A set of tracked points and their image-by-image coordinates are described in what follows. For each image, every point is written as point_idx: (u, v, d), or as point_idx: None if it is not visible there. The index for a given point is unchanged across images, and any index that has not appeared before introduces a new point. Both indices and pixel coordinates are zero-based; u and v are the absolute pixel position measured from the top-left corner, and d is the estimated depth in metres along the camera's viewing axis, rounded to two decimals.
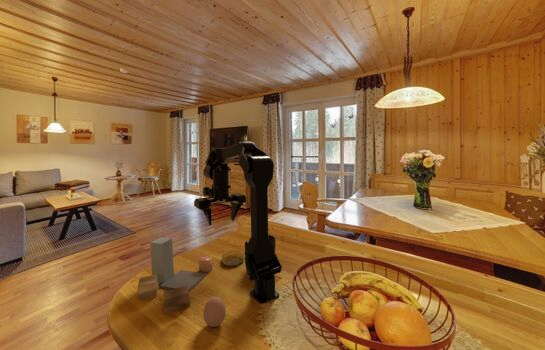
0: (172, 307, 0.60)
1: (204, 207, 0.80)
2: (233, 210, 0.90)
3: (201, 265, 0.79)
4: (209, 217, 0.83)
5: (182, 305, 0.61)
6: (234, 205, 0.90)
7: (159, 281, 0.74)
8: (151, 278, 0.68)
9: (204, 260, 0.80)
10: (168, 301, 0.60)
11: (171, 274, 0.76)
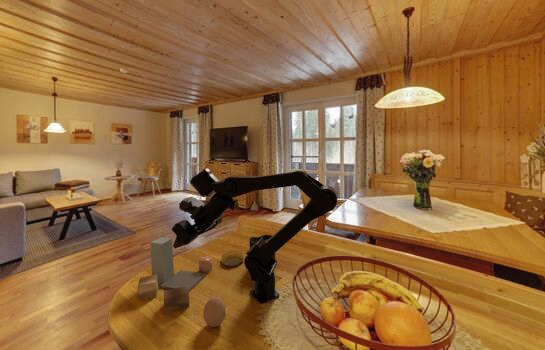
0: (172, 307, 0.60)
1: (190, 242, 0.63)
2: (202, 230, 0.76)
3: (201, 265, 0.79)
4: None
5: (182, 305, 0.61)
6: None
7: (159, 281, 0.74)
8: (151, 278, 0.68)
9: (204, 260, 0.80)
10: (168, 301, 0.60)
11: (171, 274, 0.76)
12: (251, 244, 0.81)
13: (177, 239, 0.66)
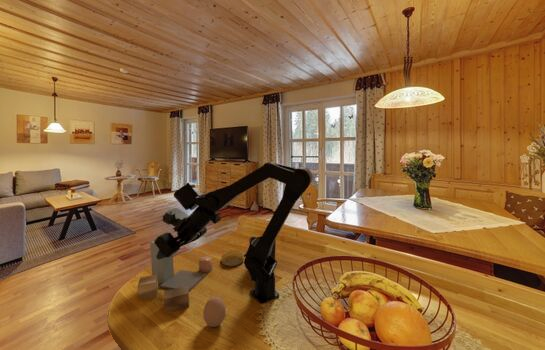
0: (172, 307, 0.60)
1: (172, 254, 0.65)
2: None
3: (201, 265, 0.79)
4: None
5: (182, 305, 0.61)
6: None
7: (159, 281, 0.74)
8: (151, 278, 0.68)
9: (204, 260, 0.80)
10: (167, 301, 0.60)
11: (171, 274, 0.76)
12: None
13: (160, 251, 0.68)
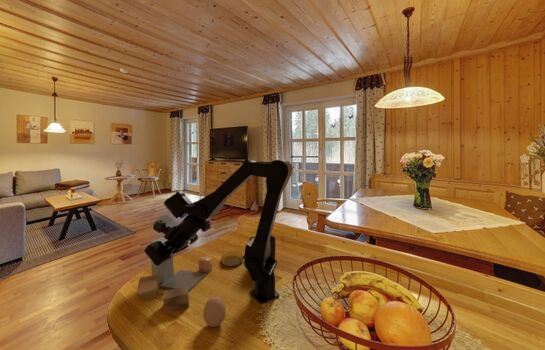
0: (171, 307, 0.60)
1: (162, 262, 0.66)
2: (173, 250, 0.77)
3: (201, 265, 0.79)
4: None
5: (182, 305, 0.61)
6: None
7: (159, 281, 0.74)
8: (151, 278, 0.68)
9: (204, 260, 0.80)
10: (167, 301, 0.60)
11: (171, 274, 0.76)
12: None
13: None
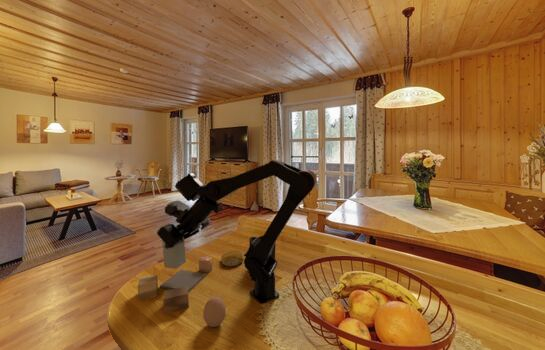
0: (171, 307, 0.60)
1: (175, 245, 0.65)
2: (185, 235, 0.76)
3: (201, 265, 0.79)
4: None
5: (182, 305, 0.61)
6: None
7: (171, 266, 0.72)
8: (151, 278, 0.68)
9: (204, 260, 0.80)
10: (167, 301, 0.60)
11: (183, 259, 0.75)
12: None
13: None
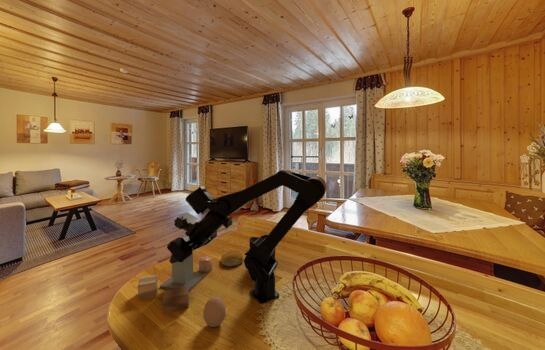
0: (171, 307, 0.60)
1: (184, 259, 0.65)
2: None
3: (201, 265, 0.79)
4: None
5: (181, 306, 0.61)
6: None
7: (179, 281, 0.72)
8: (151, 278, 0.68)
9: (204, 260, 0.80)
10: (167, 301, 0.60)
11: (191, 274, 0.75)
12: (251, 244, 0.81)
13: None
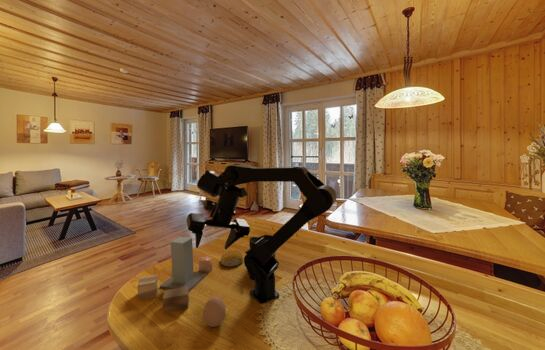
0: (171, 307, 0.60)
1: (195, 230, 0.65)
2: (230, 239, 0.74)
3: (201, 265, 0.79)
4: (198, 240, 0.68)
5: (181, 306, 0.61)
6: (233, 234, 0.73)
7: (179, 281, 0.72)
8: (151, 278, 0.68)
9: (204, 260, 0.80)
10: (166, 301, 0.60)
11: (191, 274, 0.75)
12: (251, 244, 0.81)
13: (195, 235, 0.70)
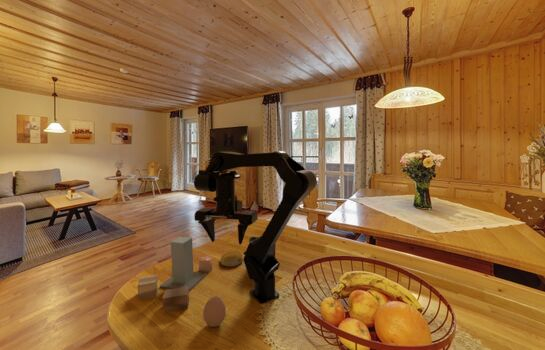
0: (170, 307, 0.60)
1: (198, 219, 0.71)
2: None
3: (201, 265, 0.79)
4: (207, 232, 0.72)
5: (181, 306, 0.61)
6: None
7: (179, 281, 0.72)
8: (151, 278, 0.68)
9: (204, 260, 0.80)
10: (166, 301, 0.60)
11: (191, 274, 0.75)
12: None
13: None
